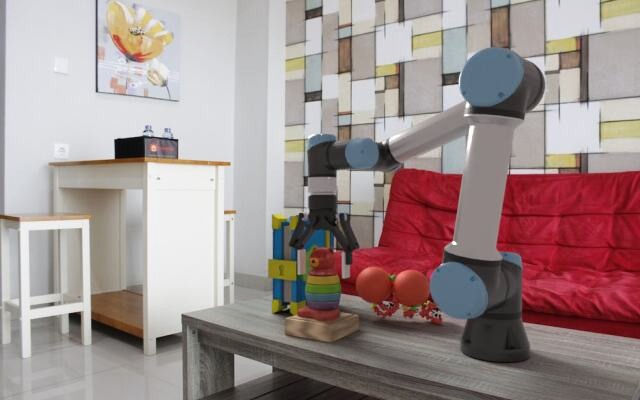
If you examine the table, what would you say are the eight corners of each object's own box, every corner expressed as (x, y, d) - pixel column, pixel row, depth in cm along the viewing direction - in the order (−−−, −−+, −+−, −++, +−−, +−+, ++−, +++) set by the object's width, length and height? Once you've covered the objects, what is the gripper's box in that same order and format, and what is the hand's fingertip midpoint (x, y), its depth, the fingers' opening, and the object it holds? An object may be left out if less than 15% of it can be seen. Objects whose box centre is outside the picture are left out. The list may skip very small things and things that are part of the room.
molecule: (352, 324, 142) (353, 268, 142) (358, 315, 152) (358, 264, 152) (446, 329, 136) (446, 271, 136) (445, 320, 147) (445, 266, 147)
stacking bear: (293, 315, 133) (293, 247, 133) (319, 309, 141) (319, 244, 141) (324, 322, 126) (324, 250, 126) (350, 315, 134) (350, 247, 134)
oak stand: (358, 329, 136) (358, 313, 136) (331, 342, 124) (331, 324, 124) (314, 322, 143) (314, 307, 143) (284, 334, 131) (284, 317, 131)
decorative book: (263, 313, 155) (263, 214, 155) (308, 300, 174) (308, 212, 174) (301, 319, 147) (301, 215, 147) (344, 305, 166) (344, 213, 166)
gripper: (372, 193, 130) (372, 277, 130) (292, 195, 143) (292, 271, 143) (357, 193, 123) (358, 281, 123) (275, 194, 137) (276, 274, 137)
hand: (323, 276), depth 133 cm, fingers open, 13 cm apart
